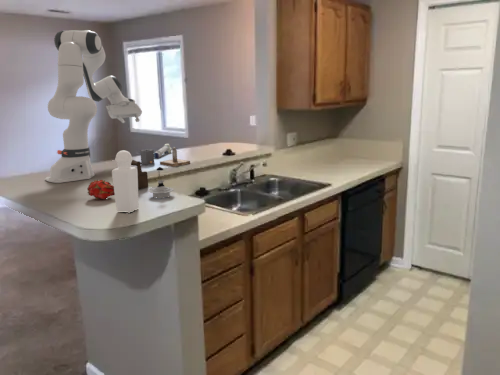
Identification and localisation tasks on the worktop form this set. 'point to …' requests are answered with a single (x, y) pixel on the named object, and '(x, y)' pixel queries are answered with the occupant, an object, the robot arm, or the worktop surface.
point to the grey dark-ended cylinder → (162, 151)
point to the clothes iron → (140, 175)
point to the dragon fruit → (100, 189)
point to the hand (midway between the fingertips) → (131, 121)
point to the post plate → (179, 162)
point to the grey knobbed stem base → (161, 188)
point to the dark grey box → (147, 157)
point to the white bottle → (125, 182)
